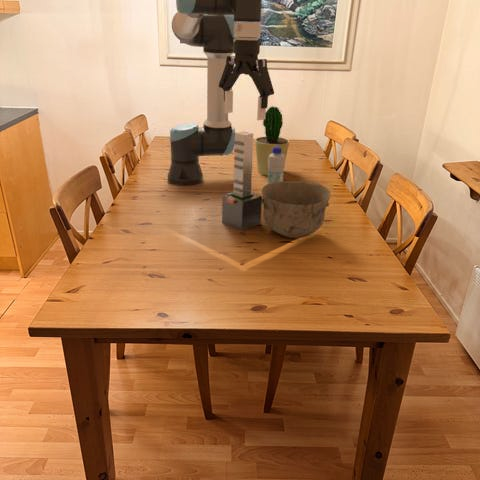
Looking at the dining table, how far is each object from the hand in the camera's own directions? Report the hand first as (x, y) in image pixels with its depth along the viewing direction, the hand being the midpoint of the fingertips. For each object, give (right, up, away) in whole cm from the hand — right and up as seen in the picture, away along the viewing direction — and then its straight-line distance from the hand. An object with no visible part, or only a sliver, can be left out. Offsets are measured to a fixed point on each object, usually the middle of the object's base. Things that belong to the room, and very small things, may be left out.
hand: (244, 116), depth 135 cm
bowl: (+16, -36, +11) cm, 41 cm away
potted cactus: (+13, -6, +71) cm, 73 cm away
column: (-1, -25, +12) cm, 27 cm away
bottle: (+12, -21, +42) cm, 48 cm away
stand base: (-1, -33, +16) cm, 36 cm away
